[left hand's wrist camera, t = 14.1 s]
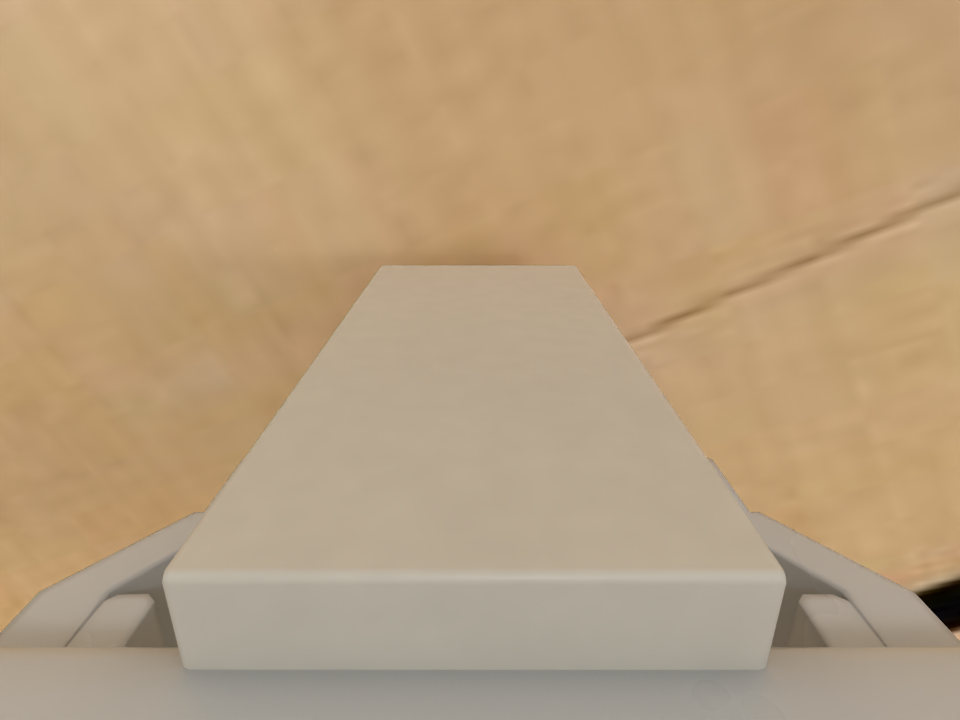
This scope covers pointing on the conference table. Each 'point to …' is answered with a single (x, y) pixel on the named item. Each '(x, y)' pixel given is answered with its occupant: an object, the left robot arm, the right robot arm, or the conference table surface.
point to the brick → (475, 501)
